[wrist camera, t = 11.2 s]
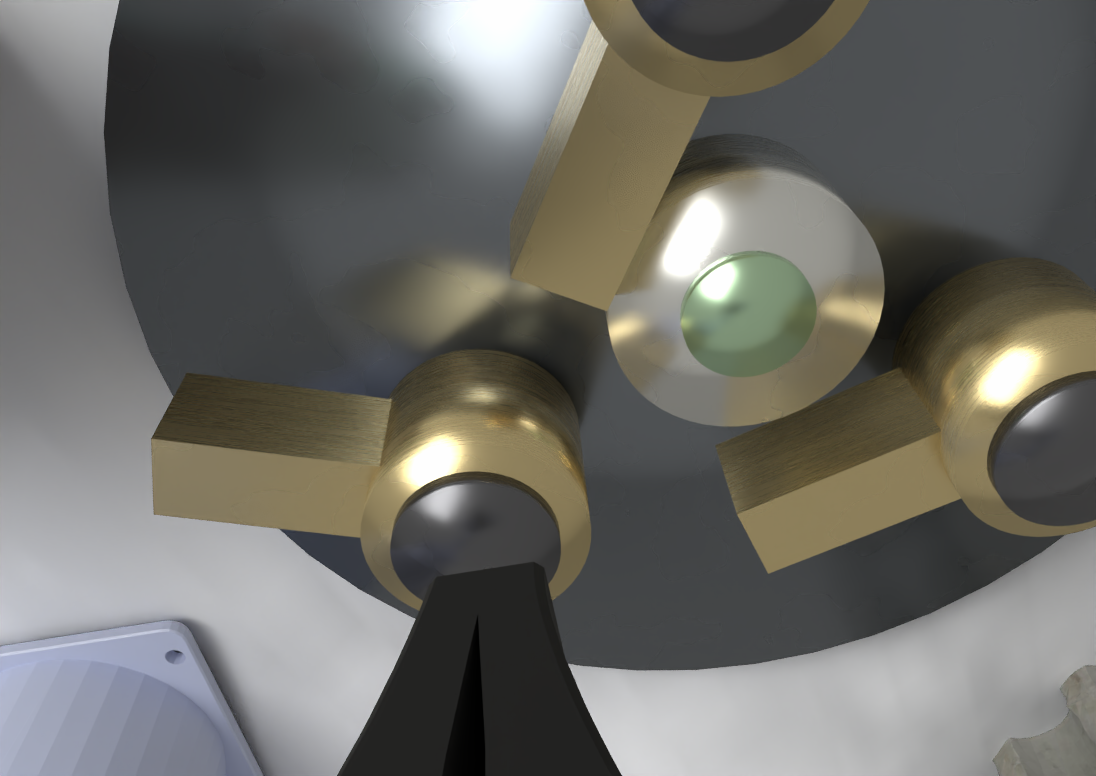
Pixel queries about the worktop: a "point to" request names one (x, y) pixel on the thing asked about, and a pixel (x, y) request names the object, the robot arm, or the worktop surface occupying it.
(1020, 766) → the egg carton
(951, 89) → the tribrach plate
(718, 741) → the worktop surface
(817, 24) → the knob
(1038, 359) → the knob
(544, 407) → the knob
